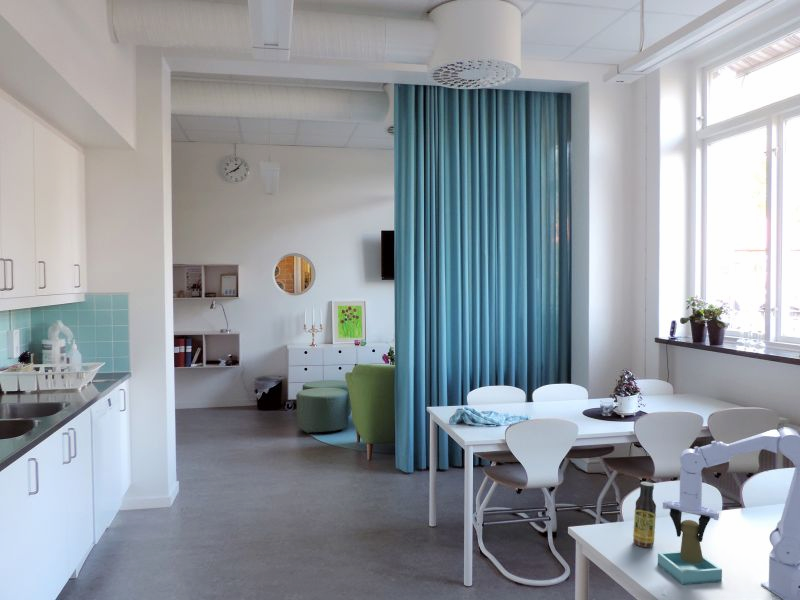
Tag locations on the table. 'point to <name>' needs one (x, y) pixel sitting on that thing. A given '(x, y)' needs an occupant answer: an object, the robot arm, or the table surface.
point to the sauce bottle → (645, 516)
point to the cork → (690, 542)
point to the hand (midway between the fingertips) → (689, 538)
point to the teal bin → (689, 569)
